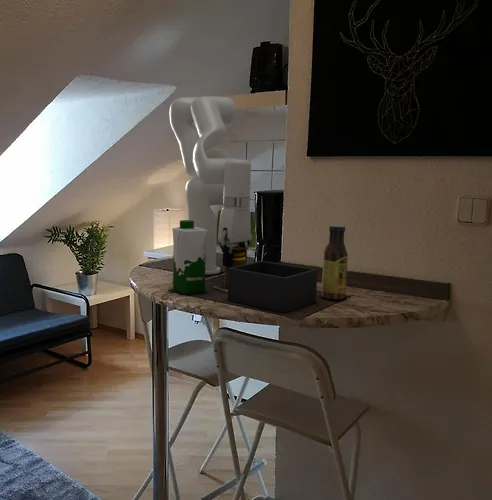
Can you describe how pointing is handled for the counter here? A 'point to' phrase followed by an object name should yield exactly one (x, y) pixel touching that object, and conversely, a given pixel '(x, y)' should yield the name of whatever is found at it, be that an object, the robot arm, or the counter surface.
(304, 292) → the dark grey open box
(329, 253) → the sauce bottle
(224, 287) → the condiment
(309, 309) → the counter surface
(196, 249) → the milk carton
